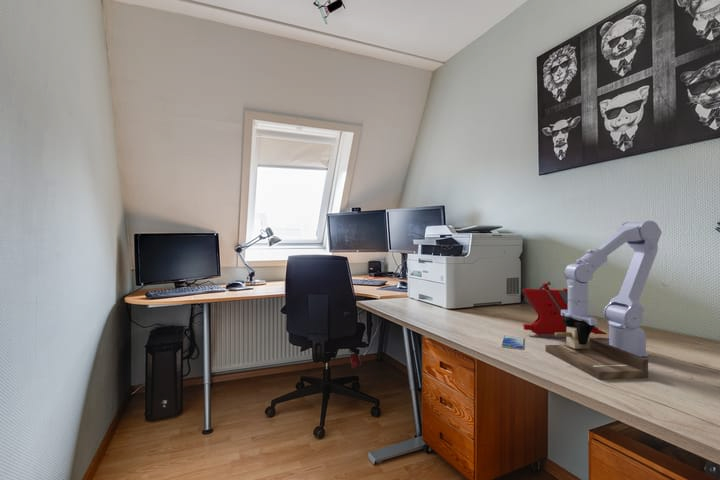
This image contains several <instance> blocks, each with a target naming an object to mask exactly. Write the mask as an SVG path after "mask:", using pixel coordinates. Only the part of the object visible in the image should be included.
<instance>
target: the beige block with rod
mask: <svg viewBox="0 0 720 480" xmlns="http://www.w3.org/2000/svg"><path fill="white" fill-rule="evenodd" d="M590 335H591V334H590ZM590 335H589V338H588V341H587V344H586V345H580V344H579V341H578V333H577V329H576V327H566V332H562V333H555V337H566V338H565V339H566V344H565V345H568V346H570V347H572V348H574V349H582V348H590V338H591V337H590Z"/></svg>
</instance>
